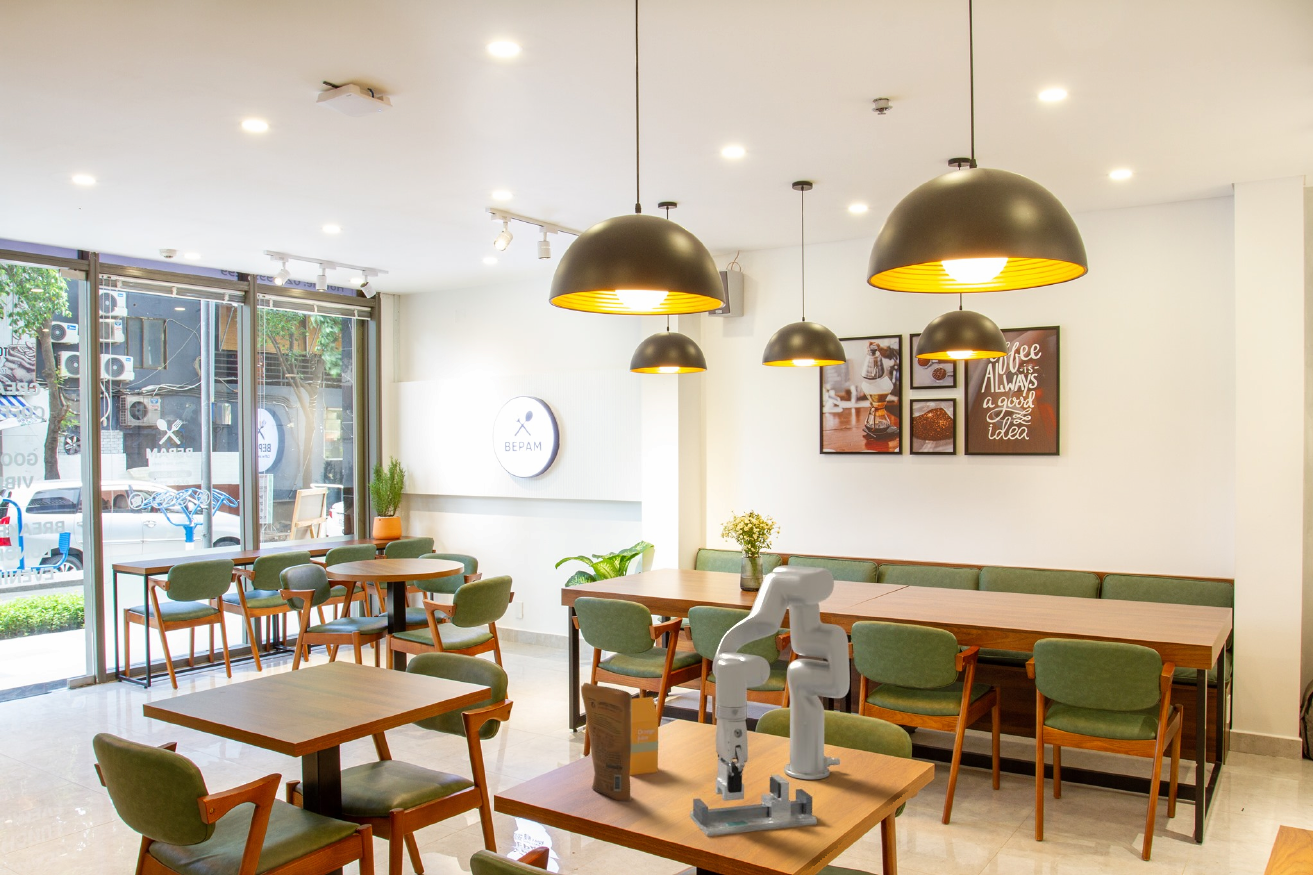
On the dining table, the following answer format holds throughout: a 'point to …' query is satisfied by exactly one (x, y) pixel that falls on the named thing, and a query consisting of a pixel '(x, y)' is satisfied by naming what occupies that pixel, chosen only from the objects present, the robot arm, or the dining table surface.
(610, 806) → the dining table surface
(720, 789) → the notched grey block
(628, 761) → the pancake mix bag
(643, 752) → the orange juice
